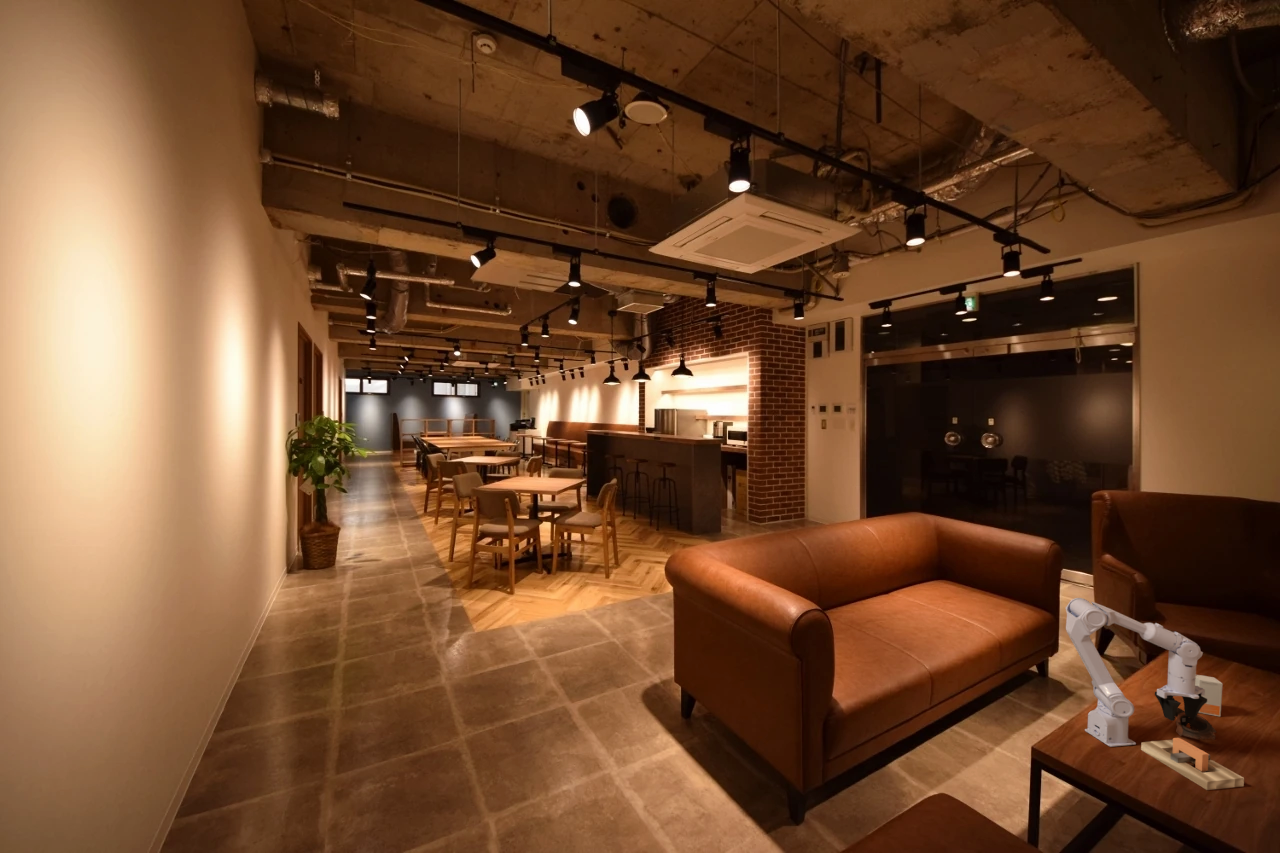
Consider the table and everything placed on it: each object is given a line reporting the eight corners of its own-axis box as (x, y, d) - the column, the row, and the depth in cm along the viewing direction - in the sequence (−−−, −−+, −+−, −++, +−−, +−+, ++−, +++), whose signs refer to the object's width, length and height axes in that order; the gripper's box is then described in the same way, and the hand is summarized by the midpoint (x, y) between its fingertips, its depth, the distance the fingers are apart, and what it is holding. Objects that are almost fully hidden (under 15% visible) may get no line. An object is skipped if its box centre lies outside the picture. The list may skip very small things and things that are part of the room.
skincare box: (1197, 713, 168) (1199, 679, 168) (1189, 706, 172) (1190, 673, 172) (1221, 717, 166) (1223, 683, 166) (1212, 710, 170) (1214, 677, 170)
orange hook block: (1201, 771, 139) (1202, 754, 139) (1172, 754, 146) (1173, 738, 146) (1207, 770, 140) (1208, 754, 140) (1178, 753, 147) (1178, 737, 146)
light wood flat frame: (1206, 790, 134) (1207, 776, 134) (1141, 749, 150) (1141, 737, 150) (1243, 786, 136) (1244, 772, 136) (1174, 746, 152) (1175, 734, 152)
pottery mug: (1228, 747, 152) (1224, 729, 150) (1196, 757, 154) (1192, 739, 152) (1188, 714, 164) (1183, 697, 162) (1159, 724, 165) (1154, 707, 163)
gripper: (1176, 683, 145) (1175, 728, 146) (1218, 680, 147) (1216, 724, 147) (1149, 671, 152) (1148, 713, 153) (1189, 668, 154) (1187, 710, 154)
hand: (1179, 718), depth 150 cm, fingers open, 7 cm apart
